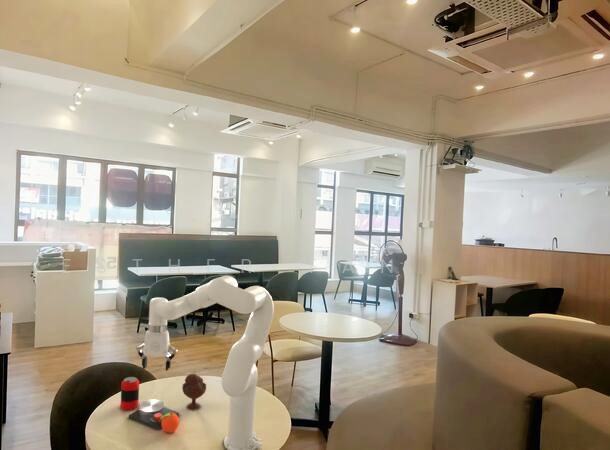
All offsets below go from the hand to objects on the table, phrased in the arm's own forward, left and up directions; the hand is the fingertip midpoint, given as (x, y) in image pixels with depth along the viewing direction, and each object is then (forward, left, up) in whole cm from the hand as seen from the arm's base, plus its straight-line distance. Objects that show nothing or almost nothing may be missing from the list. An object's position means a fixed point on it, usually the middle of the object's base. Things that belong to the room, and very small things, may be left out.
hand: (156, 368), depth 154 cm
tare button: (-4, +3, -19) cm, 19 cm away
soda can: (+16, -2, -21) cm, 27 cm away
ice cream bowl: (-8, -17, -21) cm, 29 cm away
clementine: (-11, +4, -21) cm, 24 cm away
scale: (+1, -1, -21) cm, 21 cm away
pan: (+4, -2, -18) cm, 19 cm away
